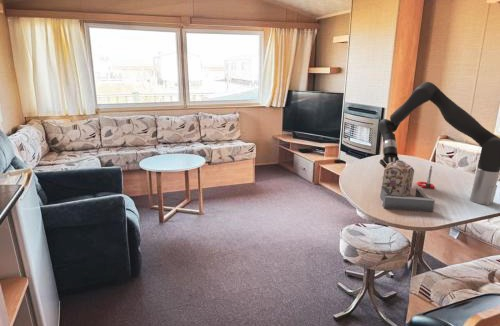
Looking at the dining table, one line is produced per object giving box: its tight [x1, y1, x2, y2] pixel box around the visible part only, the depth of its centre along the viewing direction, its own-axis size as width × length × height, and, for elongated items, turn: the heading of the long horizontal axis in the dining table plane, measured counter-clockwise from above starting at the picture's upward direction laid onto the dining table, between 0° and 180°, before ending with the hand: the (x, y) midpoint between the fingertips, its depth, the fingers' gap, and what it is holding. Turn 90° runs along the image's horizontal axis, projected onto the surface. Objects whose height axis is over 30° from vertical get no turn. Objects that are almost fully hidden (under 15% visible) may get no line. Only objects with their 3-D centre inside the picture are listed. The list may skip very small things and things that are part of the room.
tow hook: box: [416, 165, 435, 189], centre depth 190 cm, size 8×13×9 cm
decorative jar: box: [381, 159, 415, 196], centre depth 177 cm, size 12×12×18 cm
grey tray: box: [379, 185, 436, 213], centre depth 164 cm, size 15×22×7 cm
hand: (392, 175), depth 186 cm, fingers closed
